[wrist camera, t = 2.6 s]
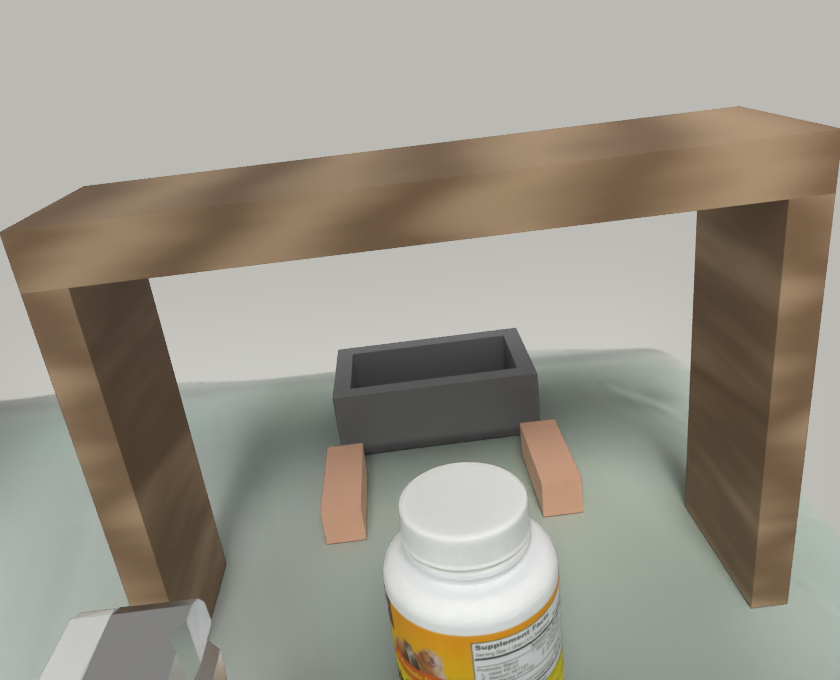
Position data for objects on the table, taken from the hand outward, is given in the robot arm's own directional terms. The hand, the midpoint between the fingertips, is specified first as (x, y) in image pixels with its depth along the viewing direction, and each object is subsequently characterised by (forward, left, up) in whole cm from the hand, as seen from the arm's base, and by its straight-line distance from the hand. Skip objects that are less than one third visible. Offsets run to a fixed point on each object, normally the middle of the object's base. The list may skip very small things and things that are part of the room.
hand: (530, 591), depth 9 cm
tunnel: (0, +19, -17) cm, 25 cm away
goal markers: (0, +26, -17) cm, 31 cm away
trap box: (0, +34, -17) cm, 38 cm away
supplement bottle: (0, +11, -17) cm, 20 cm away
